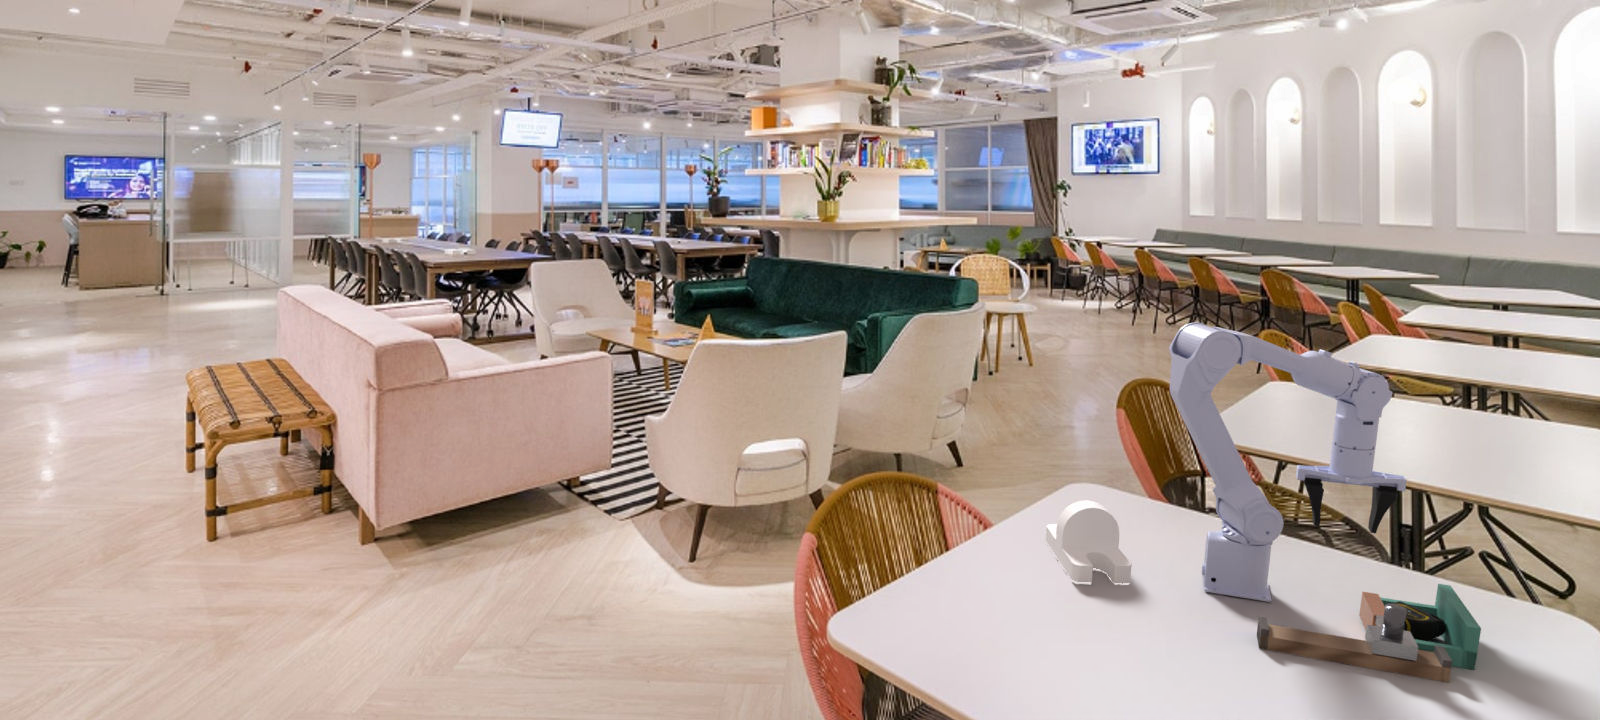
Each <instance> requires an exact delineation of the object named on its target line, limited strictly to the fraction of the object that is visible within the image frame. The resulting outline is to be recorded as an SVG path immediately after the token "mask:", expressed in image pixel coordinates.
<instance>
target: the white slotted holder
mask: <svg viewBox="0 0 1600 720" xmlns="http://www.w3.org/2000/svg"><path fill="white" fill-rule="evenodd" d="M1045 528H1046V529H1045V542H1046V541H1047V543H1048V544H1049V546H1050V547H1051V549H1052V550H1053V552H1054V553H1055V555H1056V556H1057V558H1058V559H1059V561H1060V562H1061V564H1062V565H1063V567H1064V568H1065V570H1066V572H1067V573H1068V574H1069V576H1070V578H1071V579H1072V580H1074V581H1077V582H1092V583H1093V572H1094V571H1093V568H1096V569H1100V570H1102V571H1104V572H1106V573H1107V574H1108V576H1109V577H1110V578H1111V580H1112V581H1113V582H1114V583H1122V584H1123V583H1130V584H1131V578H1132V577H1131V576H1132V566H1133V565H1132V562H1131V561H1130V560H1129V559H1128V557H1126V555H1125V554H1124V553H1123V551H1121V549H1120V548H1119V545H1120V527H1119V525H1118V522H1117V520H1116V518H1115V517H1114V516H1113V515H1112V514H1111V513H1110V511H1108V509H1107V508H1106V507H1105V506H1103V505H1102V504H1101V503H1098V502H1097V501H1093V500H1087V499H1086V500H1077V501H1076V502H1073V503H1071V504H1070V505H1068V506H1066V507H1065V509H1063V510H1062V512H1061V513H1060V514H1059V517H1058V519H1057V522H1056V523H1049V524H1047V525H1046V527H1045Z"/></svg>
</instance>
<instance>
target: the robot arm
mask: <svg viewBox="0 0 1600 720" xmlns="http://www.w3.org/2000/svg"><path fill="white" fill-rule="evenodd" d="M1168 350H1169V354H1170V359H1171V364H1170V374H1169V375H1170V379H1169V393H1170V396H1171V398H1172V400H1173V403H1174V404H1175V406H1176V408H1177V410H1178V412H1179V414H1180V416H1181V418H1182V421H1183V422H1184V424H1185V426H1186V428H1187V430H1188V432H1189V434H1190V436H1191V437H1190V438H1191V439H1192V441H1193V442H1194V444H1195V447H1196V449H1197V451H1198V453H1199V455H1200V457H1201V459H1202V461H1203V463H1204V465H1205V467H1206V469H1207V471H1208V473H1209V475H1210V477H1211V479H1212V480H1213V483H1214V484H1215V486H1214V487H1213V488H1212V492H1213V494H1214V497H1215V511H1216V514H1217V516H1218V517H1219V519H1221V530H1215V531H1214V530H1208V531H1207V533H1206V538H1205V550H1204V559H1203V563H1202V567H1201V576H1202V578H1203V590H1204V592H1206V593H1213V594H1217V595H1223V596H1231V597H1237V598H1244V599H1249V600H1255V601H1260V602H1261V601H1262V602H1267V603H1270V602H1272V595H1271V593H1270V592H1271V591H1270V587H1269V583H1268V580H1269V570H1270V561H1271V551H1272V545H1273V542H1274V541H1275V540H1276V539H1278V537H1280V535H1281V533H1282V531H1283V528H1284V519H1283V517H1284V516H1283V515H1282V514H1281V512H1280V511H1279V510H1278V509H1277V508H1276V507H1274V506H1272V505H1271V504H1270V503H1269V501H1268V499H1267V497H1266V495H1265V494H1264V493H1263V492H1262V490H1261V489H1260V488H1259V487H1258V485H1256V484H1255V483H1254V481H1253V479H1252V478H1251V475H1250V474H1249V471H1248V469H1247V468H1246V465H1245V463H1244V461H1243V459H1242V457H1241V455H1240V453H1239V451H1238V449H1237V446H1236V444H1235V442H1234V441H1233V438H1232V437H1231V435H1230V433H1229V430H1228V429H1227V426H1226V423H1225V422H1224V420H1223V418H1222V415H1221V414H1220V412H1219V409H1218V408H1217V406H1216V403H1215V401H1214V399H1213V397H1212V395H1211V394H1212V392H1213V390H1214V389H1215V387H1216V386H1217V385H1218V384H1219V383H1220V382H1221V381H1222V380H1223V378H1224V377H1226V376H1227V374H1229V372H1231V370H1232V369H1233V368H1234V367H1235V366H1236V365H1237V364H1238V365H1240V366H1243V365H1245V364H1247V363H1248V362H1250V361H1254V362H1257V363H1260V364H1263V365H1266V366H1268V367H1272V368H1275V369H1278V370H1281V371H1284V372H1287V373H1290V375H1291V378H1292V380H1293V382H1294V384H1296V385H1297V386H1299V387H1302V388H1305V389H1307V390H1309V391H1310V390H1311V391H1312V392H1316V393H1318V394H1321V395H1324V396H1326V397H1329V398H1332V399H1334V400H1336V409H1335V415H1334V416H1335V417H1334V425H1333V433H1332V443H1331V449H1330V459H1329V465H1302V464H1298V465H1297V464H1296V472H1295V478H1296V480H1298V481H1303V484H1304V486H1305V490H1306V492H1307V495H1308V499H1309V502H1310V506H1311V515H1312V523H1313V526H1314V527H1320V524H1321V513H1322V503H1323V496H1324V492H1325V489H1324V487H1323V486H1324V484H1323V482H1327V483H1333V484H1334V483H1335V484H1344V485H1353V486H1354V485H1355V486H1364V487H1372V489H1371V491H1372V493H1371V494H1372V497H1371V509H1370V515H1369V519H1368V530H1369V533H1371V534H1377V531H1378V529H1379V527H1380V524H1381V521H1382V520H1383V518H1384V516H1385V515H1386V513H1387V511H1388V510H1389V509H1390V508H1391V507H1392V506H1393V504H1394V503H1395V502H1396V501H1397V499H1398V496H1399V494H1398V492H1397V491H1399V492H1406V487H1407V481H1408V479H1407V478H1406V477H1405V476H1404V475H1399V474H1393V473H1387V472H1382V471H1381V472H1380V471H1375V470H1374V464H1375V463H1374V462H1375V453H1376V445H1377V438H1378V432H1379V424H1380V423H1379V422H1380V418H1382V414H1383V409H1384V408H1385V407H1386V406H1387V405H1388V403H1389V402H1390V401H1391V399H1392V396H1393V391H1391V390H1390V385H1389V383H1388V380H1386V378H1385V376H1383V375H1382V374H1379V373H1376V372H1373V371H1370V370H1368V369H1367V370H1366V369H1363V368H1360V367H1361V366H1360V364H1359V363H1357V362H1354V361H1348V362H1346V361H1343V360H1340V359H1338V358H1335V357H1332V355H1333V352H1330V351H1328V350H1324V349H1319V350H1318V351H1316V350H1308V351H1305V352H1304V353H1301V354H1299V353H1296V352H1294V351H1291V350H1288V349H1286V348H1284V347H1281V346H1279V345H1276V344H1274V343H1271V342H1270V341H1269V342H1268V341H1266V340H1264V339H1261V338H1259V337H1257V336H1254V335H1250V334H1247V333H1245V332H1241V331H1236V330H1231V329H1227V328H1224V327H1218V326H1212V327H1211V326H1208V325H1206V324H1204V323H1202V322H1190V323H1187V324H1184V325H1183V326H1182V327H1180V328H1179V330H1178V331H1177V332H1176V334H1175V336H1174V337H1173V339H1172V341H1171V343H1170V345H1169V347H1168Z"/></svg>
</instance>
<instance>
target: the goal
mask: <svg viewBox="0 0 1600 720" xmlns="http://www.w3.org/2000/svg"><path fill="white" fill-rule="evenodd" d="M1436 590H1437V591H1436V594H1435V595H1436V596H1435V602H1434V605H1432V604H1426V603H1419V602H1415V601H1414V602H1413V601H1406V600H1400V599H1393V598H1388V597H1380V596H1379V597H1380V599H1381V600H1382V602H1383V604H1384V606H1385V604H1389V603H1395V602H1398V601H1401V602H1404V603H1406V604H1408V605H1411V606H1413V607H1416V608H1419V609H1421V610H1423V611H1426V612H1428V613H1430V614H1433V615H1435V616H1437V617H1439V618H1440V619H1442V620H1443V621H1444V622H1445V624H1446V629H1445V633H1444V634H1442V635H1441V636H1440V637H1442V639H1443V641H1444V643H1439V642H1434V641H1429V642H1428V641H1422V640H1416V639H1414V640H1415V641H1416V643H1417V645H1418V650H1424V651H1430V652H1434V647H1435V645H1436V646H1442V647H1444V648H1445V650H1446V651H1447V653H1448V655H1449V656H1450V658H1451V660H1452V667H1456V668H1461V669H1467V670H1474V671H1475V669H1476V663H1477V657H1478V651H1479V644H1480V638H1481V632H1482V627H1481V626H1480V625H1479V623H1478V622H1477V620H1476V619H1475V618H1474V616H1473V615H1472V613H1471V612H1470V610H1469V609H1468V608H1467V607H1466V605H1465V604H1464V602H1463V601H1462V600H1461V598H1460V597H1459V596H1458V594H1457V593H1456V591H1455V590H1454V589H1453V587H1452V585H1450V584H1442V583H1438V584H1437V589H1436Z"/></svg>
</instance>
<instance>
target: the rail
mask: <svg viewBox="0 0 1600 720" xmlns="http://www.w3.org/2000/svg"><path fill="white" fill-rule="evenodd" d="M1257 621H1258V622H1257V629H1256V638H1257V644H1258V648H1259V649H1260V650H1267V651H1271V652H1278V653H1281V654H1282V653H1284V654H1289V655H1294V656H1299V657H1306V658H1311V659H1316V660H1322V661H1326V662H1327V661H1328V662H1333V663H1338V664H1344V665H1348V666H1349V665H1350V666H1355V667H1360V668H1366V669H1372V670H1377V671H1381V672H1382V671H1383V672H1388V673H1393V674H1400V675H1405V676H1410V677H1417V678H1422V679H1427V680H1434V681H1440V682H1443V683H1444V682H1445V683H1450V678H1451V674H1452V667H1453V666H1452V660H1451V658H1450V656H1449V655H1448V653H1447V651H1446V650H1445V648H1444V647H1442V646H1436V645H1435V647H1434V652H1430V651H1424V650H1418V653H1417V660H1416V661H1414V660H1408V659H1403V658H1397V657H1391V656H1385V655H1380V654H1374V653H1371V651H1370V648H1369V646H1368V644H1367V641H1366V639H1365V640H1363V639H1358V638H1354V637H1353V638H1352V637H1346V636H1340V635H1334V634H1329V633H1321V632H1317V631H1311V630H1305V629H1298V628H1293V627H1287V626H1282V625H1280V626H1279V625H1277V624H1276V625H1275V624H1270V623H1269V622H1268V617H1267V616H1260V615H1258V620H1257Z"/></svg>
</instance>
